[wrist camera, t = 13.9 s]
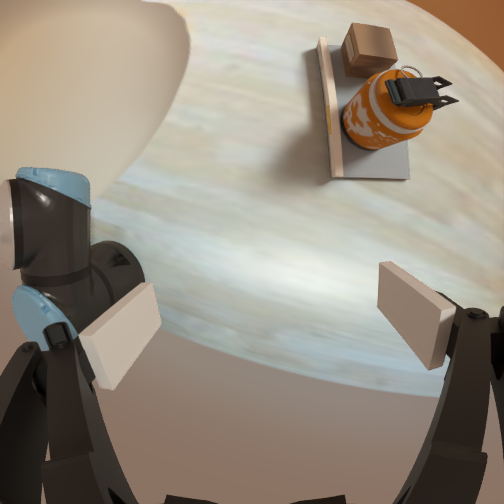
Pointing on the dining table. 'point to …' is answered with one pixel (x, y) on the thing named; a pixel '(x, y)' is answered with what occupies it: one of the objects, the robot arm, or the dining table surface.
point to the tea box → (367, 51)
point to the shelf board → (340, 148)
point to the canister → (392, 108)
